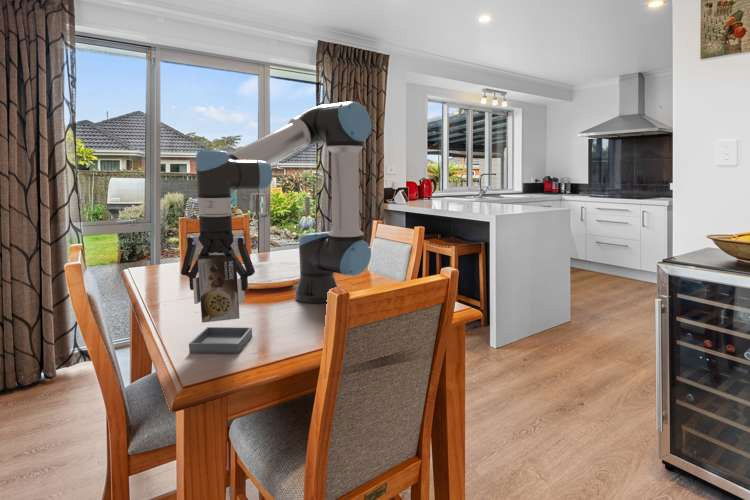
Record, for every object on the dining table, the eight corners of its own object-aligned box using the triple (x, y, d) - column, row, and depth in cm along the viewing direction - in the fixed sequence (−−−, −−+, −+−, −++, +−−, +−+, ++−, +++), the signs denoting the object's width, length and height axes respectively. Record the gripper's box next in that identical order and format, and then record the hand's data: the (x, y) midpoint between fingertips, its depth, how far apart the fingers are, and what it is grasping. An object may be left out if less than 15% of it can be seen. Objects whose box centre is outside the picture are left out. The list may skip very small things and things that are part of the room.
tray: (207, 335, 124) (207, 327, 123) (252, 336, 124) (251, 327, 123) (189, 353, 112) (188, 343, 112) (238, 353, 112) (238, 344, 111)
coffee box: (238, 312, 121) (235, 251, 118) (239, 319, 115) (237, 256, 112) (201, 315, 118) (197, 253, 115) (201, 323, 112) (197, 258, 109)
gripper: (161, 216, 109) (167, 306, 112) (257, 217, 108) (261, 307, 112) (175, 213, 116) (181, 298, 120) (265, 214, 116) (268, 299, 119)
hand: (219, 302), depth 116 cm, fingers closed on coffee box, 10 cm apart
